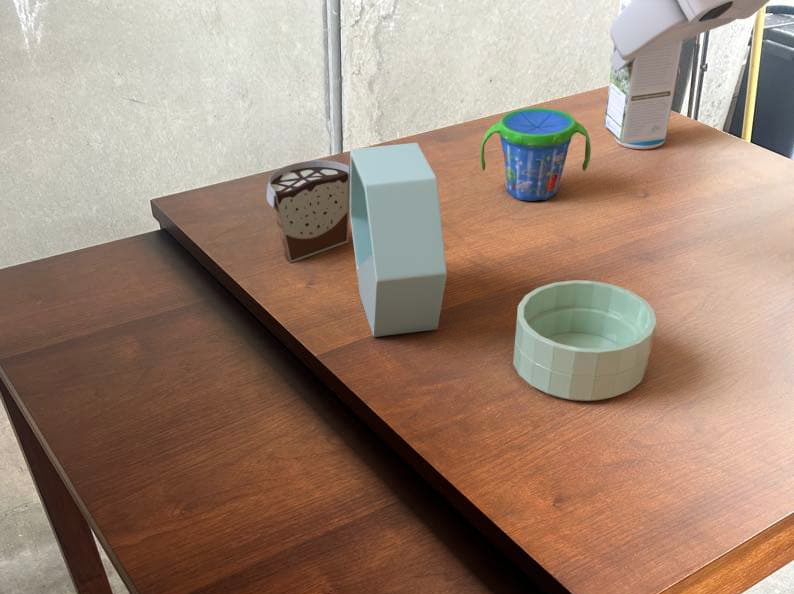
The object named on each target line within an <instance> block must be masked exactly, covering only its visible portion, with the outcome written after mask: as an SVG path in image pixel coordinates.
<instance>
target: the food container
mask: <svg viewBox="0 0 794 594" xmlns="http://www.w3.org/2000/svg"><path fill="white" fill-rule="evenodd" d="M266 201H267V203H268V204H269V205H270V206H271V207H272V208H273V211H274V215H275V219H276V224H277V228H278V233H279V237H280V242H281V246H282V251H283V255H284V258H285V260H286V261H287V262H288V263H289V264H291V263H295V262H297V261H300V260H303V259H307V258H308V257H311V256H314V255H317V254H320V253H322V252H325V251H328V250H331V249H333V248H336V247H339V246H342V245H345V244H347V243H349V229H350V165H347V164H345V163H341V162H337V161H332V160H307V161H299V162H294V163H290V164H287V165H285V166H283V167H280V168H279V169H277V170H275V171H274V172H273V173H272V174H271V175H270V176H269V179H268V183H267V187H266Z"/></svg>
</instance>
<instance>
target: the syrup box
mask: <svg viewBox="0 0 794 594" xmlns="http://www.w3.org/2000/svg"><path fill="white" fill-rule="evenodd" d="M631 1H632V0H619V5H618V13H617V16H618V15H619V14H620V13H621V12H622V11H623V10H624V9H625V7H626V6H627V5H628V4H629V3H630V2H631ZM682 42H683V40H681V41H679V42H676V43H673V44H670V45H668V46H665V47H662V48H659V49H657V50H654V51H651V52H648V53H646V54H643V55H640V56H637V57H635V60H634V61H633V62H632V63H631V64H630V65H629V66H628V67H626V68H624V69H622V70H619V71H615V70H614V68H613V66H612V65H611V67H610V76H609V82H608V83H609V84H608V90H607V99H606V106H605V107H606V108H605V115H604V122H603V127H604V128H605V129H606V130H607V131H608V132H609V133H610V134H611V135H612V136H613V137H614V136H615V137H616V138H617V139H618V140H619V141H620V142H621V143H637V142H645V141H653V140H659V139H665V137H666V138H667V134H666V132H667V133H668V128H669V123H668V121H669V122H670V118H669V116H670V117H671V113H670V110H671V111H672V108H671V105H672V106H673V103H672V99H673V100H674V98H673V93H674V88H675V82H676V76H677V70H678V65H679V66H680V59H681V58H680V53H681V47H682V48H683V44H682ZM616 50H617V49H616V47H615V45H614V44H613V53H614V52H615V51H616ZM613 53H612V54H613ZM675 89H676V88H675ZM674 94H675V93H674ZM667 127H668V128H667ZM665 140H666V139H665Z"/></svg>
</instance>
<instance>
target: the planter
mask: <svg viewBox="0 0 794 594" xmlns="http://www.w3.org/2000/svg"><path fill="white" fill-rule="evenodd" d="M349 160H350V161H349V166H350V198H349V222H350V228H351V235H352V244H353V251H354V260H355V269H356V276H357V285H358V293H359V297H360V299H361V303H362V306H363V309H364V313H365V316H366V319H367V322H368V326H369V328H370V332H371V335H372V337H373V338H378V337H385V336H393V335H402V334H411V333H417V332H418V333H419V332H428V331H436V330H438V329H439V323H440V317H441V312H442V311H441V310H442V305H443V298H444V292H445V287H446V281H447V275H448V270H447V262H446V261H447V260H446V250H445V241H444V232H443V223H442V222H443V221H442V214H441V204H440V203H441V201H440V194H439V184H438V178H437V176H436V174H435V172H434V170H433V168H432V167H431V165H430V163H429V161H428V159H427V158H426V156H425V154H424V152H423V150H422V148H421V147H420V145H419V143H418V142H410V143H408V142H407V143H399V144H387V145H377V146H367V147H358V148H350V150H349Z"/></svg>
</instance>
